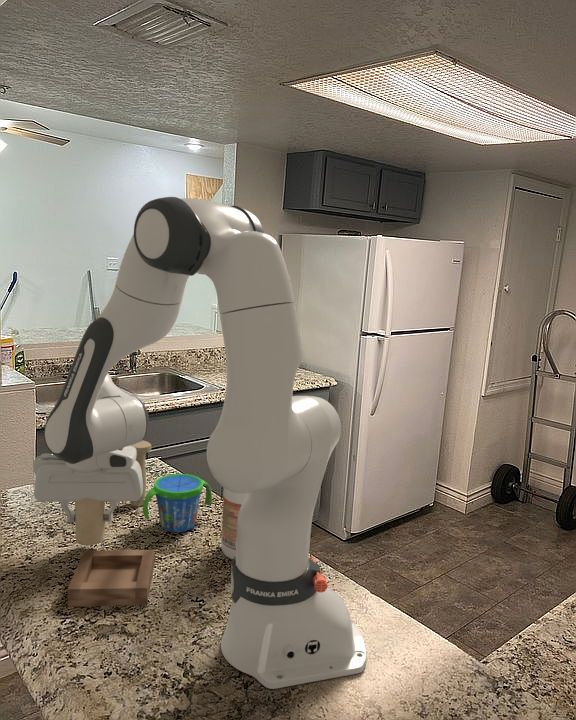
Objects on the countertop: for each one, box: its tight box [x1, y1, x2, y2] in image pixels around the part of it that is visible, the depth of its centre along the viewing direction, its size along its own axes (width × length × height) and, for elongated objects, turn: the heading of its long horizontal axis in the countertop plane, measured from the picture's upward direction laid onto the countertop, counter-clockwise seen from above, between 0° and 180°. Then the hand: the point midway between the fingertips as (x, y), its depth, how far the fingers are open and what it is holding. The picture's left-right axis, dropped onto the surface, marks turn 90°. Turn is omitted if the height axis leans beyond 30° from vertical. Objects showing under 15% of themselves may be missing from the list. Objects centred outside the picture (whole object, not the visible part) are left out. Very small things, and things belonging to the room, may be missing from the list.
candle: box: [74, 497, 106, 546], centre depth 117 cm, size 6×6×10 cm
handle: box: [129, 439, 152, 508], centre depth 139 cm, size 5×6×15 cm
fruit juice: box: [220, 487, 249, 560], centre depth 119 cm, size 9×9×28 cm
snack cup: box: [142, 473, 213, 534], centre depth 130 cm, size 16×10×10 cm
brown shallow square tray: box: [67, 549, 155, 608], centre depth 107 cm, size 13×13×3 cm
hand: (90, 520), depth 117 cm, fingers closed on candle, 5 cm apart
